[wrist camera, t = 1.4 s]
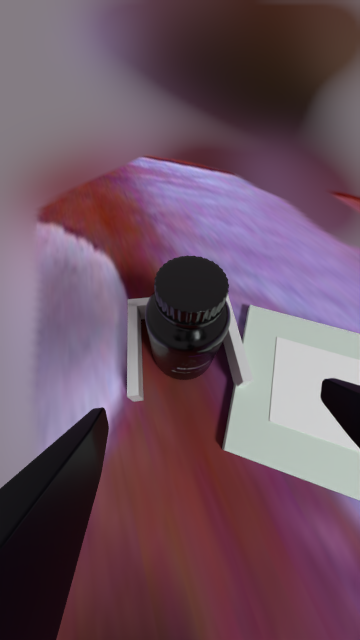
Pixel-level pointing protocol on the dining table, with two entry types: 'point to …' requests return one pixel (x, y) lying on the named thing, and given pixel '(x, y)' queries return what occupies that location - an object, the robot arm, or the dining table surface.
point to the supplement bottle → (187, 316)
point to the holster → (134, 350)
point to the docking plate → (295, 400)
